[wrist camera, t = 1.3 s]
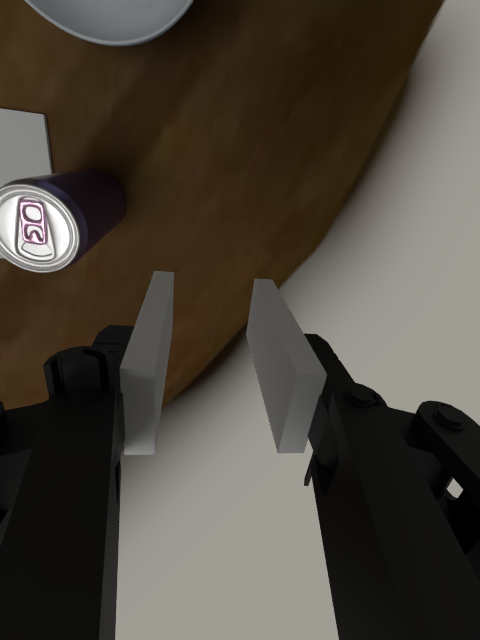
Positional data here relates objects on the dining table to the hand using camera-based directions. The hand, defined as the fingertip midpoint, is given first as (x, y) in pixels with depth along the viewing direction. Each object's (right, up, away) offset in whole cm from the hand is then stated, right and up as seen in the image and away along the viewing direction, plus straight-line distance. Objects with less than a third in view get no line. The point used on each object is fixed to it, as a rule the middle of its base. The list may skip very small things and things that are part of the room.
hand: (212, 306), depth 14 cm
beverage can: (-14, +12, +20) cm, 27 cm away
